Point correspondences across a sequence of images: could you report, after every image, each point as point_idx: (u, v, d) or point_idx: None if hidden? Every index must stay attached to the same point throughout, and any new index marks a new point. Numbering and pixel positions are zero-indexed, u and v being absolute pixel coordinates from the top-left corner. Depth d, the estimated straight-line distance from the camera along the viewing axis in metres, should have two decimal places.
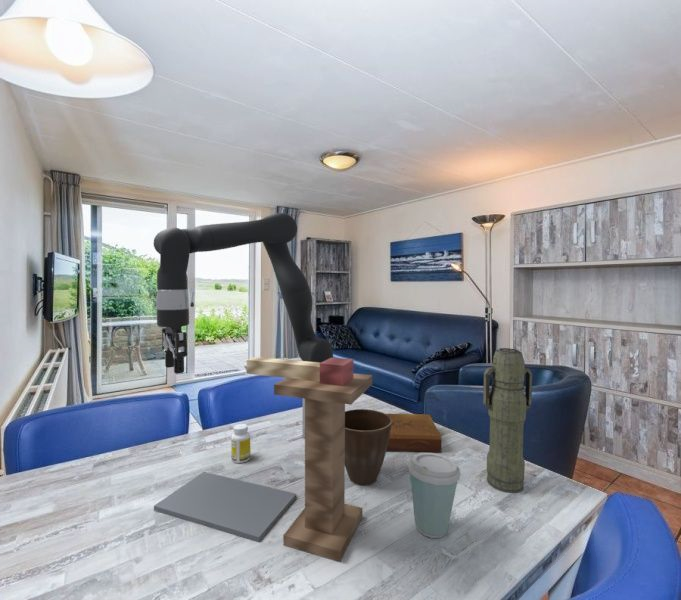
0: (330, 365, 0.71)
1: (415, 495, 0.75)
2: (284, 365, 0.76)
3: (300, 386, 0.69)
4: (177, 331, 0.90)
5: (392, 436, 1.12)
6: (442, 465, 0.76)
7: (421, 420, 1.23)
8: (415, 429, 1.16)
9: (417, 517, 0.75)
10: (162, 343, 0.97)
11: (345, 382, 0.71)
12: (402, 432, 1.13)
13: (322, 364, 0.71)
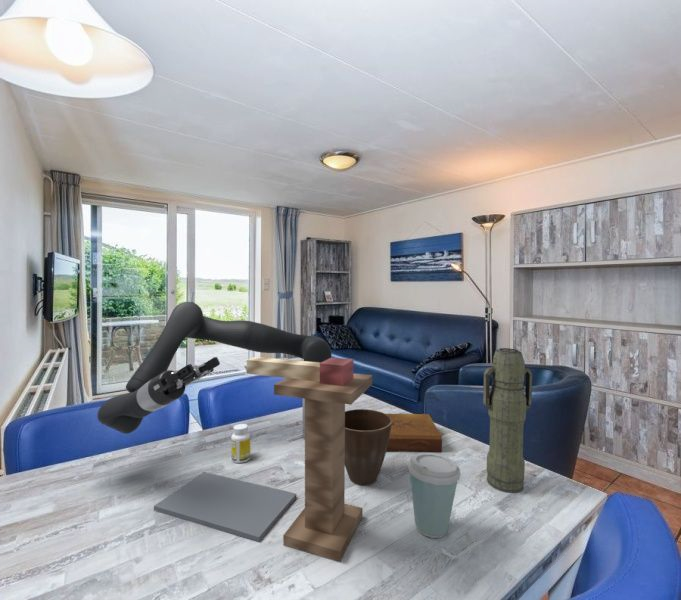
0: (330, 365, 0.71)
1: (415, 495, 0.75)
2: (284, 365, 0.76)
3: (300, 386, 0.69)
4: None
5: (393, 436, 1.12)
6: (442, 465, 0.76)
7: (421, 420, 1.23)
8: (415, 429, 1.16)
9: (417, 517, 0.75)
10: None
11: (345, 382, 0.71)
12: (403, 432, 1.13)
13: (322, 364, 0.71)
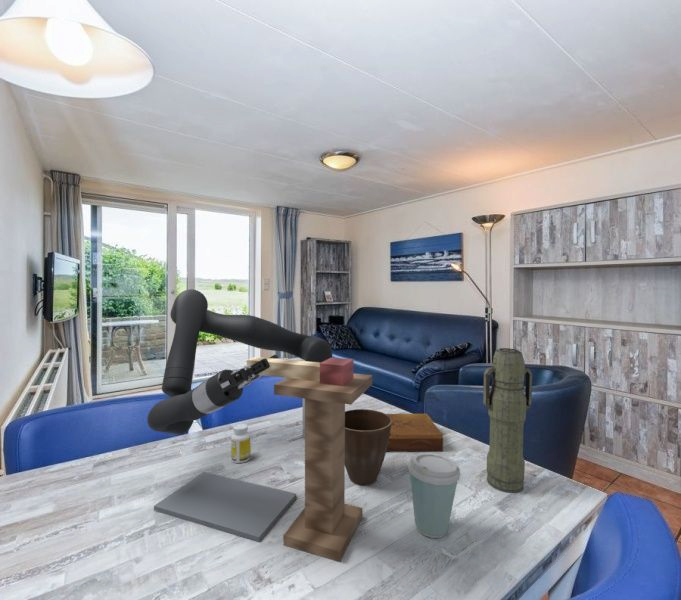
0: (330, 365, 0.71)
1: (415, 495, 0.75)
2: (284, 365, 0.76)
3: (300, 386, 0.69)
4: None
5: (394, 436, 1.11)
6: (442, 465, 0.76)
7: (420, 420, 1.24)
8: (416, 428, 1.16)
9: (417, 517, 0.75)
10: None
11: (345, 382, 0.71)
12: (404, 432, 1.13)
13: (322, 364, 0.71)
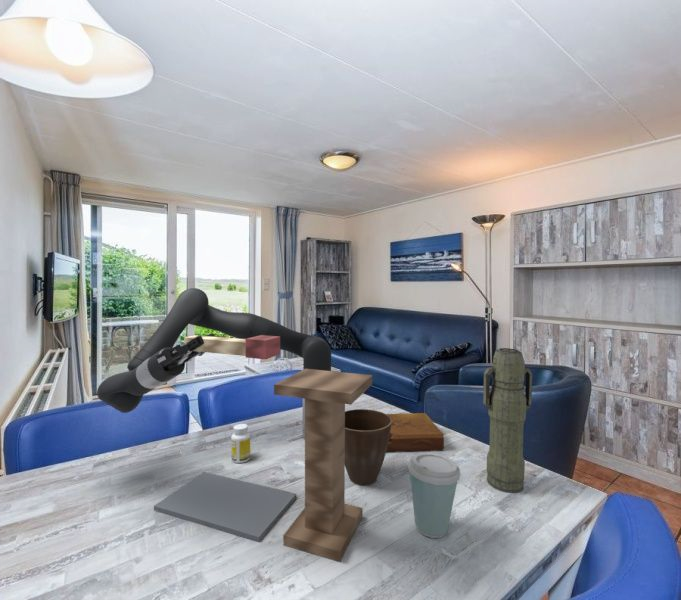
0: (254, 340, 0.77)
1: (415, 495, 0.75)
2: (216, 342, 0.82)
3: (300, 386, 0.69)
4: None
5: (396, 436, 1.11)
6: (442, 465, 0.76)
7: (419, 419, 1.24)
8: (416, 428, 1.17)
9: (417, 517, 0.75)
10: None
11: (268, 356, 0.77)
12: (405, 432, 1.13)
13: (247, 339, 0.77)
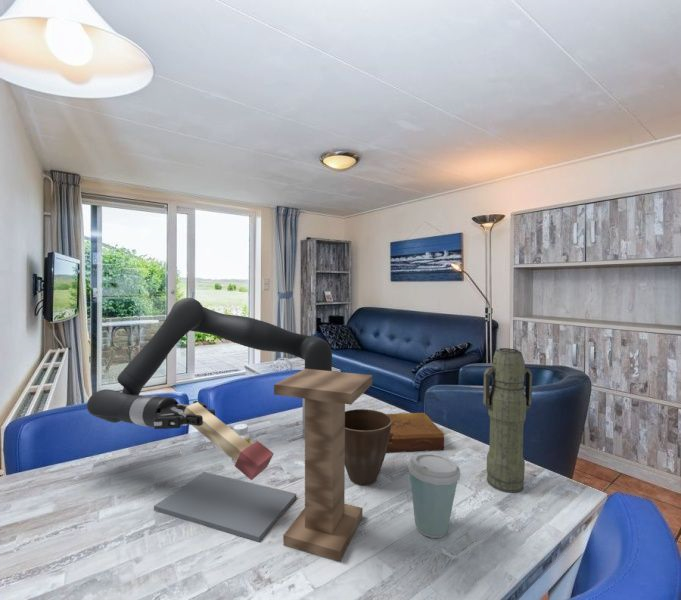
0: (248, 458, 0.78)
1: (415, 495, 0.75)
2: (214, 432, 0.82)
3: (300, 386, 0.69)
4: None
5: (397, 436, 1.11)
6: (442, 465, 0.76)
7: (419, 419, 1.24)
8: (416, 428, 1.17)
9: (417, 517, 0.75)
10: None
11: (255, 476, 0.79)
12: (406, 432, 1.13)
13: (242, 453, 0.78)
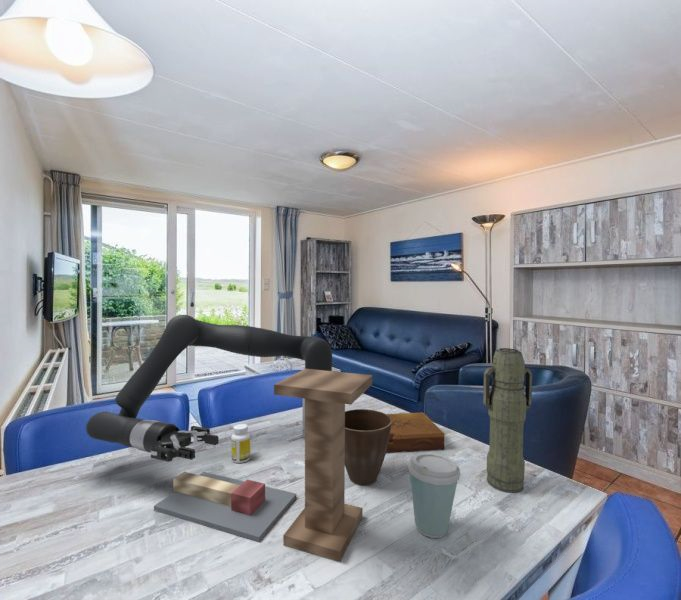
0: (239, 496, 0.80)
1: (415, 495, 0.75)
2: (204, 488, 0.85)
3: (300, 386, 0.69)
4: None
5: (397, 436, 1.11)
6: (442, 465, 0.76)
7: (418, 419, 1.25)
8: (417, 428, 1.17)
9: (417, 517, 0.75)
10: None
11: (253, 510, 0.80)
12: (406, 432, 1.13)
13: (233, 494, 0.80)
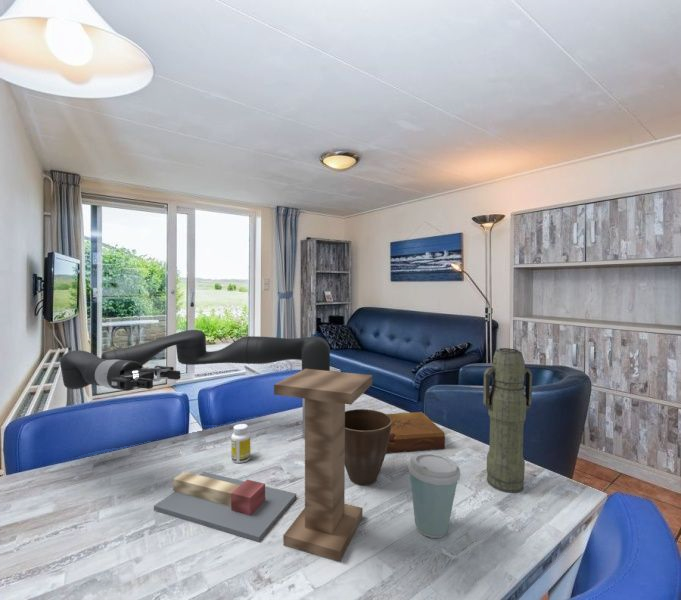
0: (239, 496, 0.80)
1: (415, 495, 0.75)
2: (204, 488, 0.85)
3: (300, 386, 0.69)
4: None
5: (399, 436, 1.11)
6: (442, 465, 0.76)
7: (418, 418, 1.25)
8: (417, 427, 1.17)
9: (417, 517, 0.75)
10: None
11: (253, 510, 0.80)
12: (407, 432, 1.13)
13: (233, 494, 0.80)
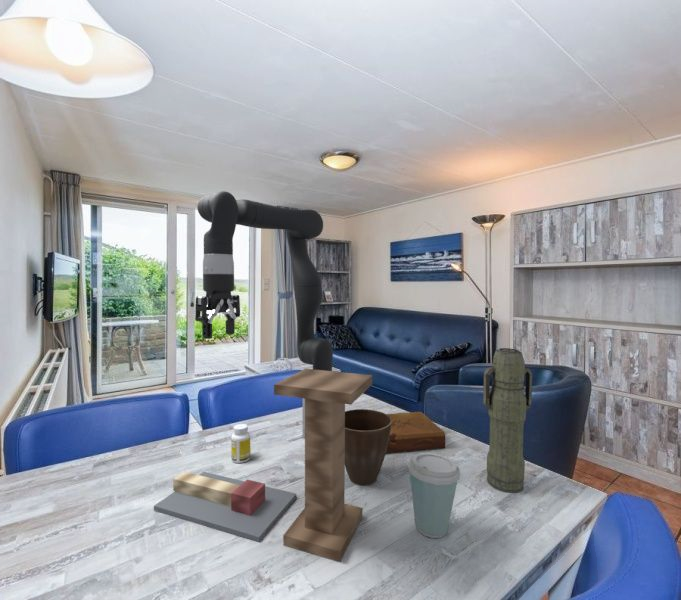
0: (239, 496, 0.80)
1: (415, 495, 0.75)
2: (204, 488, 0.85)
3: (300, 386, 0.69)
4: (208, 296, 0.89)
5: (400, 437, 1.11)
6: (442, 465, 0.76)
7: (417, 418, 1.25)
8: (417, 427, 1.17)
9: (417, 517, 0.75)
10: None
11: (253, 510, 0.80)
12: (408, 432, 1.13)
13: (233, 494, 0.80)
